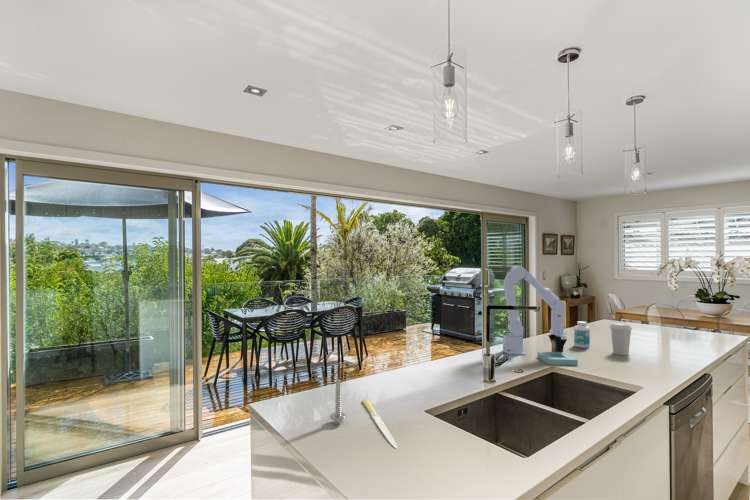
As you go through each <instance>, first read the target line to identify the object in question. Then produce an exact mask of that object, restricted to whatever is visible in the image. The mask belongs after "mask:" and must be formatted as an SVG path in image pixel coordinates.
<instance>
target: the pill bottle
mask: <svg viewBox="0 0 750 500" xmlns="http://www.w3.org/2000/svg"><path fill="white" fill-rule="evenodd" d="M576 323H577V325H574V328H573V331H574V332H573V334H574V335H573V345H574V346H575V347H576V348H580V349H589V348H590V347H591V346H590V345H591V344H590V339H591V337H590V336H591V335H590V334H591V329H590V327H589V326H588V322H587V321H583V320H580V321H576Z"/></svg>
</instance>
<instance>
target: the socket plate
mask: <svg viewBox="0 0 750 500" xmlns="http://www.w3.org/2000/svg"><path fill="white" fill-rule="evenodd" d="M537 358H539V359H540V360H541V361H542V362H544V363H545V364H546V365H550V366H578V360H579V359H578V358H575V357H574V356H572V355H570V354H568V353H567V352H565V351H563V352H552V351H537Z"/></svg>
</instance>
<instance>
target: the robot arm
mask: <svg viewBox="0 0 750 500" xmlns="http://www.w3.org/2000/svg"><path fill="white" fill-rule="evenodd" d="M521 280H524V281H526V282H527V283H528V284H530V285H531V286H532V287H533V288H534V289H535V290H536V291H538V296H539V297H540V298H541V299H542V300H543V301H544V302H545V303H546V304H547V305H548V306H549V308H550V309H551V310H550V311H551V314H550V315H551V316H550V319H551V320H550V322H551V323H550V329H549V334H548V335H547V336H548V338H549V341H550V343H551V344H552V340H555V342H556V348H557V352H562V351H563V352H564V347H565V344H566V342H567V341H568V340H567V336H566V335H567V332H565V331H564V329H565V327H564V326H565V325H564V324H565V321H564V320H565V317H564V316H565V314H564V312H565V310H566V304H565V302H563V301H562V300H560V297H559V296H558V295H556V294H555V293H554V292H553V289H551V288H549V287H544V285H542V284H541V283H540V282H539V281H538V280H537V278H536V277H535V276H534V275H532V273H530V271H528V270H526V269H525V268H524V267H523V266H520V265H513V266H511V267H510V268H509V269H508V270H507V273H506V275H505V278H504V280H503V290H504V296H505V302H506V306H507V305H511V306H517V307H518V304H517V303H518V302H517V297H516V291H515V285H516V284H517V283H518V282H519V281H521ZM507 314H508V315H507V316H508V318H507V319H508V323H507V330H508V332H507V334H506V335H505V334H504V335H503V336H502V352H504V353H505V354H506V353H507V354H506V355H518V356H519V355H520V356H521V355H522V356H523V355H527V353H526V352H524V332H525V328H524V326H523V325H522V323H521V318H520V316H519V310H508V309H507Z"/></svg>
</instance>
